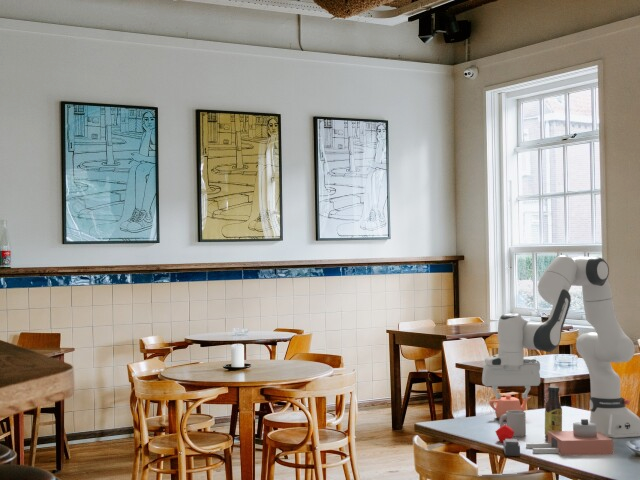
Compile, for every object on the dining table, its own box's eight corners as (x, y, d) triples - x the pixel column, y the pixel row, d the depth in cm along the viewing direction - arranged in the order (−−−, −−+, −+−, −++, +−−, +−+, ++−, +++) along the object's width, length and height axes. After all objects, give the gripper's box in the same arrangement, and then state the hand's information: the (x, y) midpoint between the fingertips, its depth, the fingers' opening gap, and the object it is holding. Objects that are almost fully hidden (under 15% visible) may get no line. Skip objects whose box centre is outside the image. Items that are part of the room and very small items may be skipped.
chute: (503, 450, 294) (503, 437, 294) (517, 450, 293) (517, 437, 293) (505, 455, 285) (505, 442, 285) (520, 456, 284) (519, 442, 284)
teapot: (486, 417, 357) (486, 393, 357) (527, 416, 357) (527, 392, 357) (492, 422, 345) (492, 397, 345) (535, 421, 345) (534, 396, 346)
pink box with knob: (596, 444, 301) (595, 415, 301) (613, 454, 285) (612, 423, 285) (523, 445, 300) (523, 416, 300) (536, 455, 284) (535, 424, 284)
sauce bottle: (553, 442, 305) (552, 388, 306) (541, 439, 311) (540, 386, 311) (566, 440, 308) (565, 387, 309) (554, 437, 314) (553, 385, 314)
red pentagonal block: (511, 430, 301) (512, 418, 309) (493, 432, 304) (494, 421, 311) (516, 446, 303) (517, 434, 310) (498, 448, 305) (499, 436, 313)
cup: (525, 437, 314) (525, 414, 314) (499, 436, 317) (498, 413, 317) (526, 433, 321) (525, 410, 321) (500, 432, 324) (499, 409, 324)
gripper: (537, 358, 293) (538, 396, 293) (480, 358, 293) (481, 397, 292) (542, 360, 287) (543, 399, 286) (484, 360, 286) (485, 400, 286)
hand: (511, 398), depth 289 cm, fingers open, 8 cm apart
